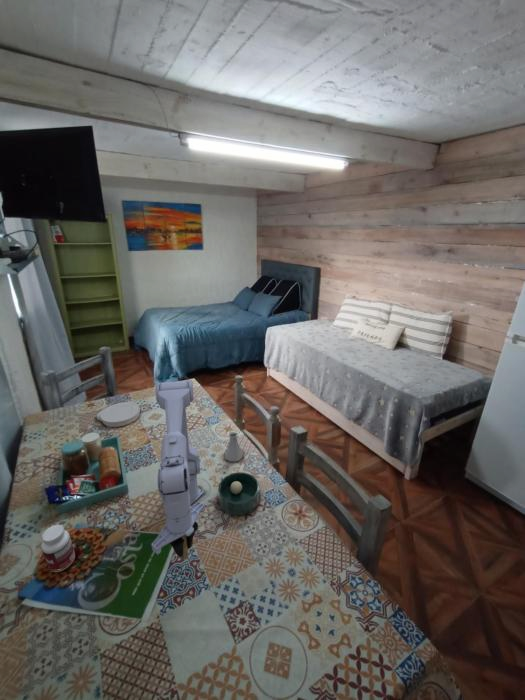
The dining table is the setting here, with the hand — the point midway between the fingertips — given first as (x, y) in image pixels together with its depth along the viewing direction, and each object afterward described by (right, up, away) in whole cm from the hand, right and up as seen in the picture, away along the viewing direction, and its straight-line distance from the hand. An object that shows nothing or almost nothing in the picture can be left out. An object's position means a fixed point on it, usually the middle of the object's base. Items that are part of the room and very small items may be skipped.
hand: (183, 550), depth 78 cm
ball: (+11, +3, +27) cm, 30 cm away
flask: (+9, +8, +46) cm, 47 cm away
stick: (0, -2, +1) cm, 2 cm away
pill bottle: (-34, -8, +7) cm, 35 cm away
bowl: (+12, 0, +26) cm, 29 cm away
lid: (-48, +18, +71) cm, 88 cm away
